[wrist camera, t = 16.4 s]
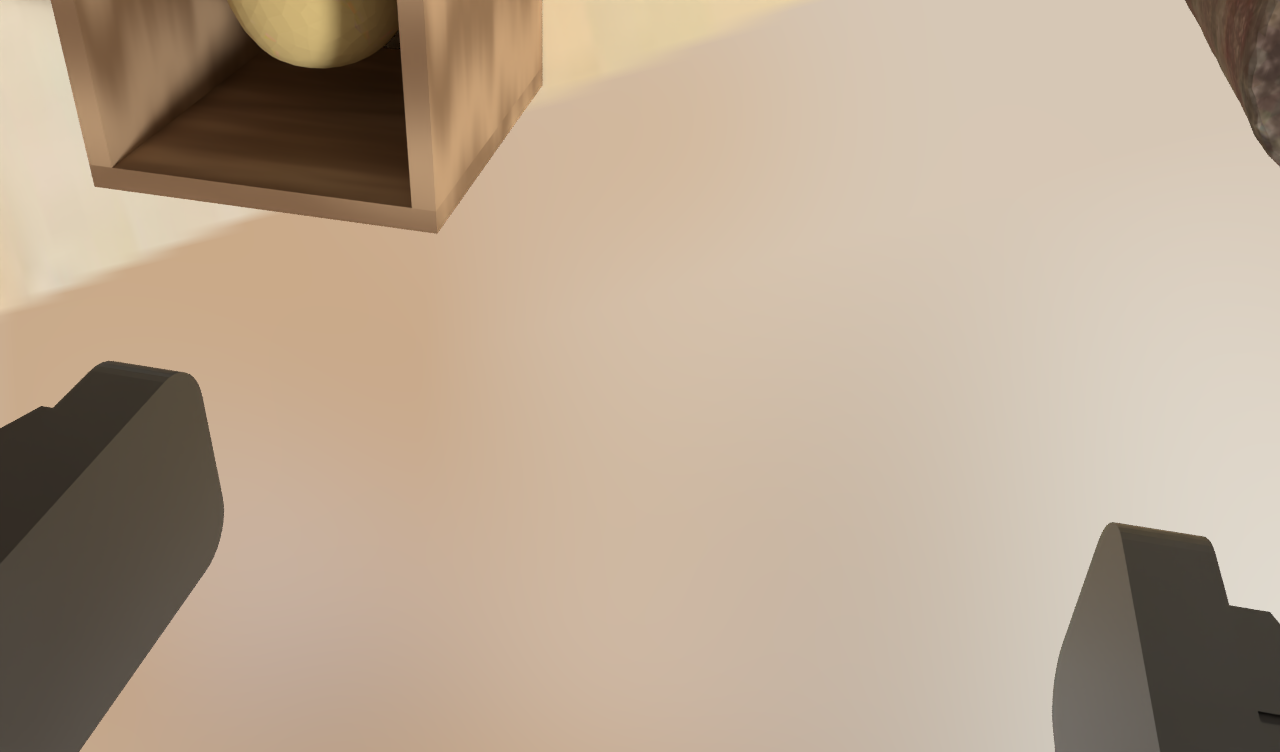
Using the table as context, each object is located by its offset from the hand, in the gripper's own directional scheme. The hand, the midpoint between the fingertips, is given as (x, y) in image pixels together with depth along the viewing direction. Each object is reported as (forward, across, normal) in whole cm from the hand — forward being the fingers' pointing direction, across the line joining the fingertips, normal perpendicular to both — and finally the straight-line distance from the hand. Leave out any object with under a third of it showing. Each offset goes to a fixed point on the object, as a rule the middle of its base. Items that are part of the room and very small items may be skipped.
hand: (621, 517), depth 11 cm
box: (+38, +17, +6) cm, 42 cm away
